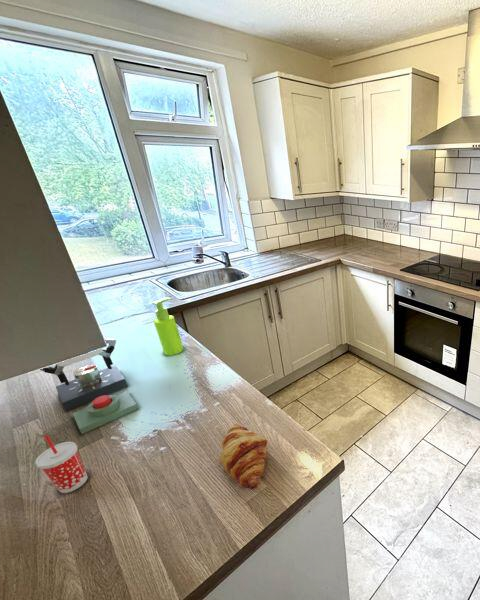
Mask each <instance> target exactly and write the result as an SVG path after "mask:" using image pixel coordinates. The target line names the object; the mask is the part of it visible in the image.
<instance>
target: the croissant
mask: <svg viewBox="0 0 480 600" xmlns="http://www.w3.org/2000/svg"><path fill="white" fill-rule="evenodd" d="M226 434H227V435H226V436H225V437H224V438H223V440H222V443H221V448H222V450H221V452H220V455H219V458H218V459H219V463H220V466H221V467H222V469H223V470H224V471H225V472H226V473H227V474H228V476H230V477H231V478H232V479H233V480H234V481H235V482H237V483H238V484H239V485H240V486H241V488H245V489H249V490H255V488H256V489H257V487H258V486H260V482H261V477H262V476H263V474H264V472H265V464H266V461H267V445H268V440H267V438H266V437H264V436H262V435H258V433H256V432H254V431H251V430H249V429H248V428H246V427H245V426H242V425H241V424H239V423H235V424H234V425H232V427H231V428H230V429H229V428H228V430H227V432H226Z"/></svg>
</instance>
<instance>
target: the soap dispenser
mask: <svg viewBox="0 0 480 600" xmlns="http://www.w3.org/2000/svg"><path fill="white" fill-rule="evenodd" d="M172 300H173V298H171V297H163V298H159V299H157V300H155V301H152V305H156V309H155V311H154V313H155V315H156V318H155V319H154V320H153V324H154V327H155V330H156V332H157V335H158V337H159V338H158V339H159V341H160V344H161V347H162V350H163V353H164V355H166V356H175V355H177V354H180V353H182V352H183V351H184V345H183V342H182V339H181V335H180V333H179V329H178V326H177V322H176V319H175V316H174V315H170V314H169V311H168V308H166V307H164V305H163V303H164V302H168V301H172Z"/></svg>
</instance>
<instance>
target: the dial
mask: <svg viewBox="0 0 480 600" xmlns="http://www.w3.org/2000/svg"><path fill="white" fill-rule="evenodd" d="M99 371H100V370H99V368H98V366H97V365H96V364H88V365H84V366H81V367H79V368H77V369H75V370H74V371H73V372H72V376H73V378H74V380H75V379H76V381H77V383H78V385H79V387H81V388H86V387H90V386H93V385H96V384H97V383H99V382H100V381H101V380H102V377H101V375H100V373H99Z"/></svg>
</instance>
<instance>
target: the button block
mask: <svg viewBox="0 0 480 600" xmlns="http://www.w3.org/2000/svg"><path fill="white" fill-rule="evenodd" d="M108 396H109V397H110V399H111V403H110V404H109V405H107V406H105V407H103V408H99V409H95V408H94V406H93V404H92V402H89V403H88V405H87V406H86V407H84V408H82V409H79V410H76V411H74V412H72V415H73V418H74V420H75V422H76V423H75V424H76V425H77V427H78V429H79V432H80V434H82V435H84V434H86V433H88V432H90V431H93V430H95V429H97V428H99V427H101V426H103V425H107V424H108V423H110V422H112V421H115V420H117V419H119V418H121V417H123V416H126V415H128V414H129V413H132V412H134V411H136V410H138V409H139V407H138V405H137V403H136V401H135V400H134V399H133V397H132V396H131V394H130V393H129V391H128V390H124V391H122V392H119V393H117V394H114V395H113V394H108Z"/></svg>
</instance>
